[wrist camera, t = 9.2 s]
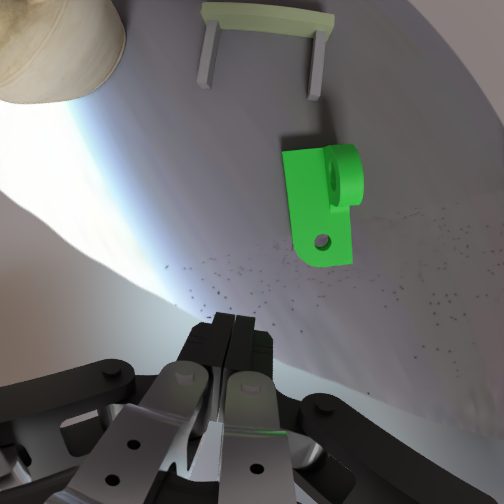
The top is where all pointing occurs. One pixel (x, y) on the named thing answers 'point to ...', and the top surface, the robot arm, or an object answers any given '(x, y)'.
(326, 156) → the mechanical part
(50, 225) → the top surface
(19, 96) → the jug
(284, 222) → the top surface
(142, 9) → the top surface
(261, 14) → the low bench
